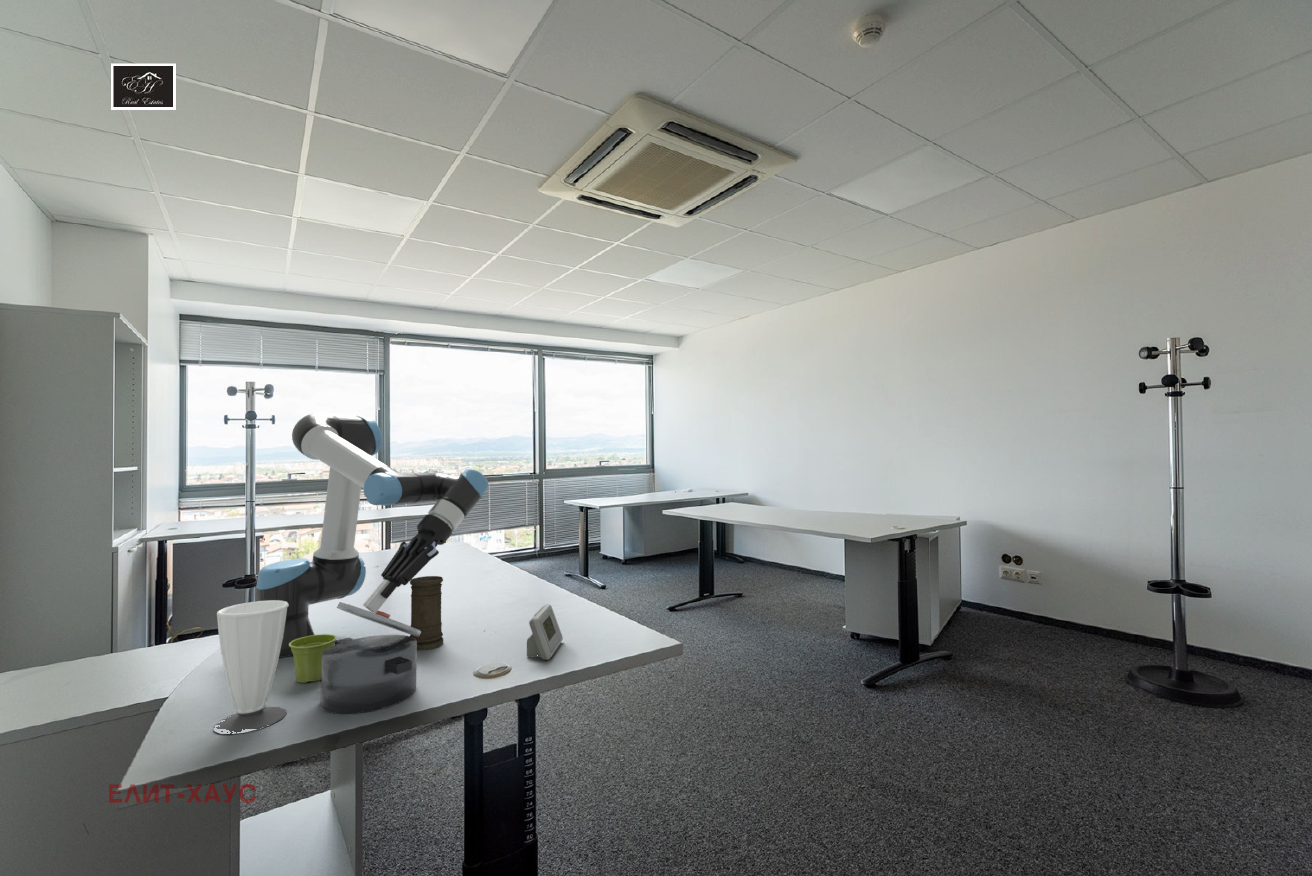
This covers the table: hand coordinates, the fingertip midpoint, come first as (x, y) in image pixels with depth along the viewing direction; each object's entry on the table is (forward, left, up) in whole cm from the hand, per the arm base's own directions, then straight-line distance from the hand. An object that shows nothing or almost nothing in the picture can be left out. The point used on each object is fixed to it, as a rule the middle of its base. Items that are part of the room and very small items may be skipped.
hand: (369, 609), depth 118 cm
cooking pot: (0, +1, -18) cm, 18 cm away
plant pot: (-21, -2, -19) cm, 28 cm away
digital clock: (+10, +42, -19) cm, 47 cm away
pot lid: (0, +2, -3) cm, 4 cm away
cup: (-7, -19, -19) cm, 27 cm away
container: (-22, +26, -19) cm, 39 cm away
